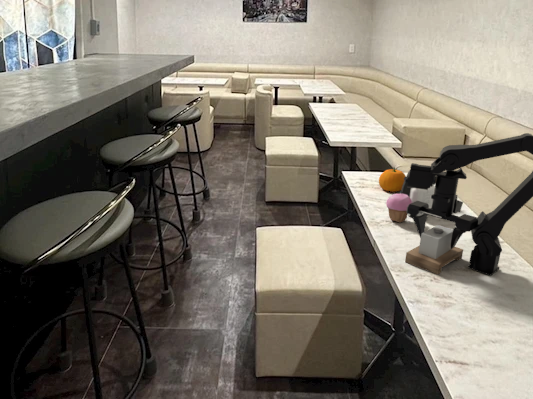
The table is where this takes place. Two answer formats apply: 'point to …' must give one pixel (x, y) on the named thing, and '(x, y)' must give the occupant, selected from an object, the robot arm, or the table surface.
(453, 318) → the table surface
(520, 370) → the table surface
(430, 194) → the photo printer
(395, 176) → the fruit
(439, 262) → the walnut stand
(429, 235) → the block
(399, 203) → the cupcake
